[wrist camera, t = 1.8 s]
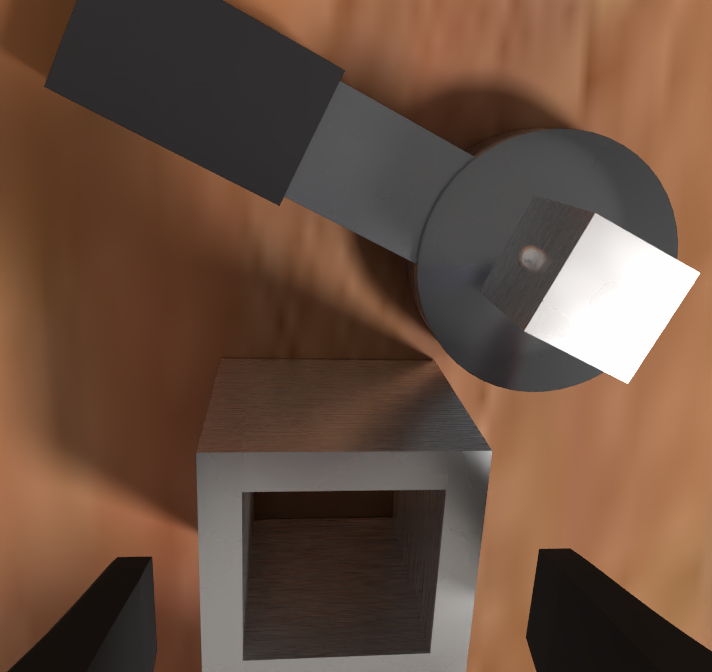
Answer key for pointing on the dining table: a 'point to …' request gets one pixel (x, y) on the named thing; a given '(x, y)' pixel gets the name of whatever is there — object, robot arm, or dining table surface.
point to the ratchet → (404, 187)
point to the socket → (338, 535)
